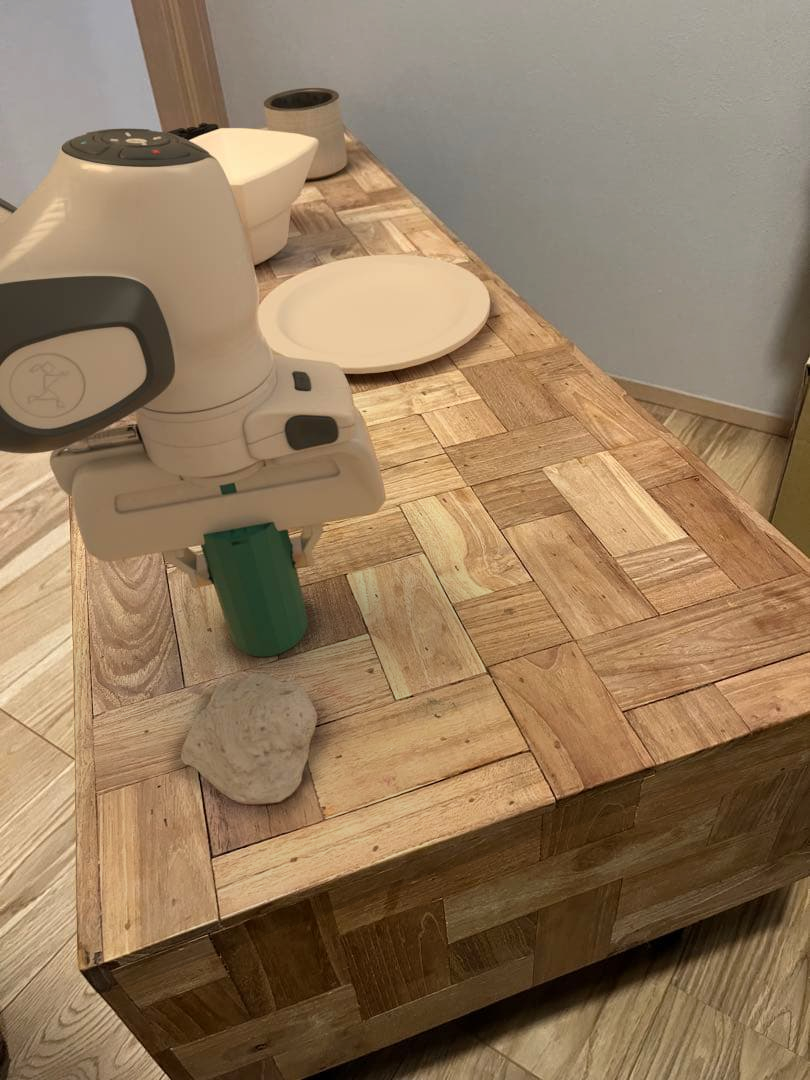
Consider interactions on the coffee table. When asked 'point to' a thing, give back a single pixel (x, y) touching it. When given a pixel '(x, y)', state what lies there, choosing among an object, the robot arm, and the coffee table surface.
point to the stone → (253, 739)
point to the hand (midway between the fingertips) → (254, 571)
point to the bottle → (257, 586)
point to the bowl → (262, 179)
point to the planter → (311, 125)
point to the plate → (375, 312)
